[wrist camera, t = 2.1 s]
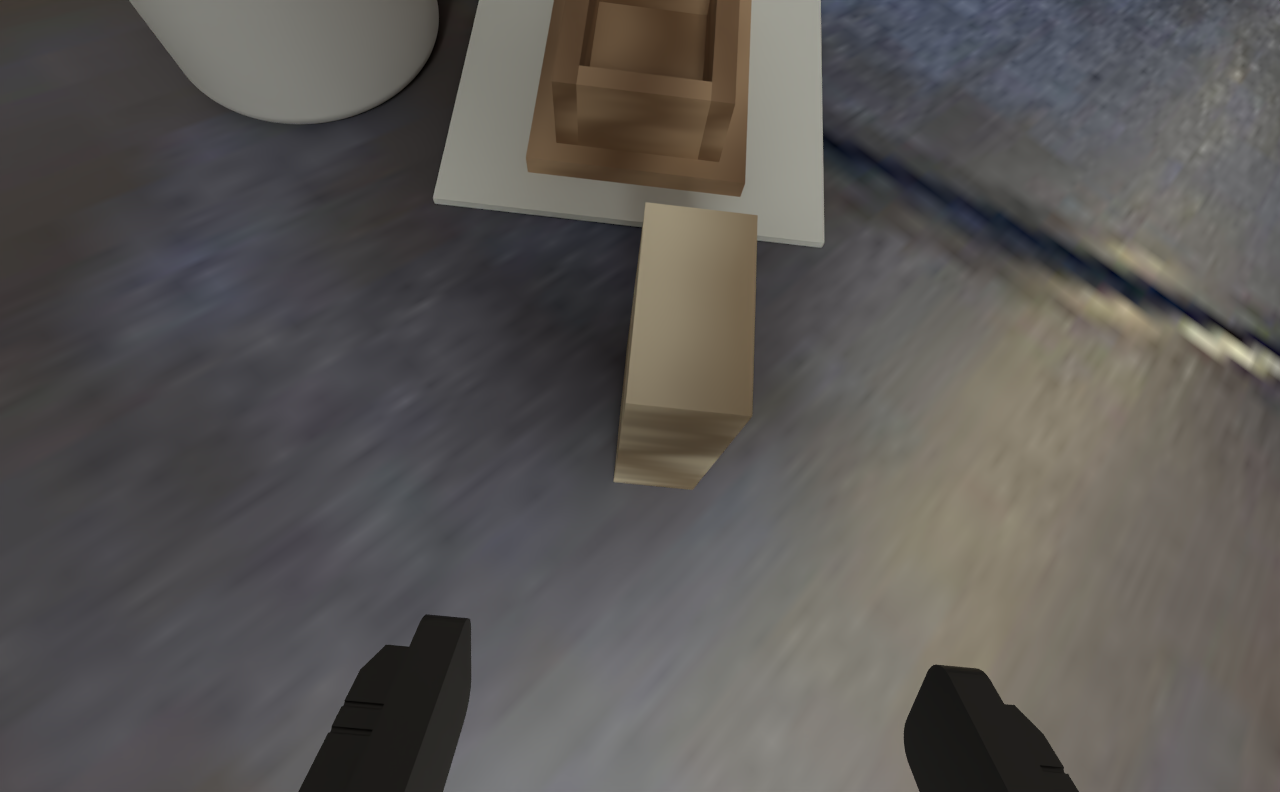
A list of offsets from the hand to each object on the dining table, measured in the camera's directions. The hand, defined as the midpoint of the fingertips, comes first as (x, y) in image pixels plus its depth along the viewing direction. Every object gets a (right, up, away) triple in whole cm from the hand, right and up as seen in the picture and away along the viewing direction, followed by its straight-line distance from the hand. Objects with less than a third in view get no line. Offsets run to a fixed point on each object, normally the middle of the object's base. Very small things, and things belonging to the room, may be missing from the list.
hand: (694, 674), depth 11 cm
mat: (-1, +20, +21) cm, 29 cm away
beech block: (0, +4, +15) cm, 16 cm away
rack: (-1, +20, +20) cm, 29 cm away
